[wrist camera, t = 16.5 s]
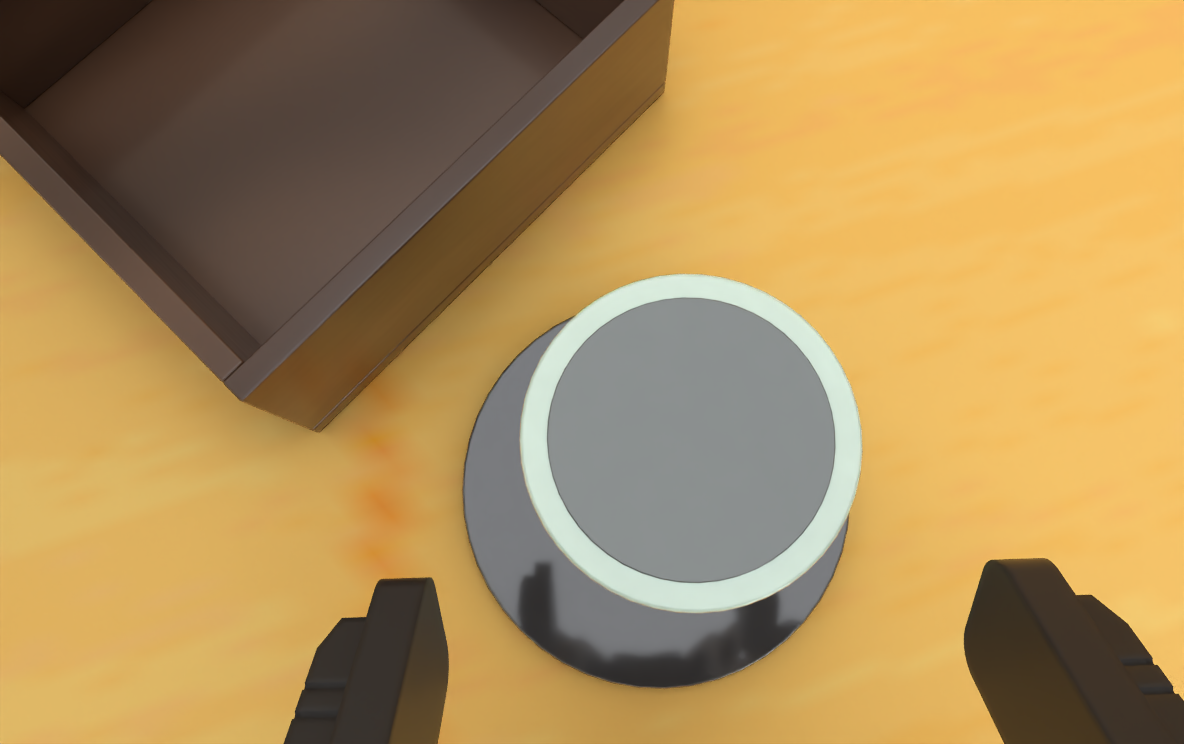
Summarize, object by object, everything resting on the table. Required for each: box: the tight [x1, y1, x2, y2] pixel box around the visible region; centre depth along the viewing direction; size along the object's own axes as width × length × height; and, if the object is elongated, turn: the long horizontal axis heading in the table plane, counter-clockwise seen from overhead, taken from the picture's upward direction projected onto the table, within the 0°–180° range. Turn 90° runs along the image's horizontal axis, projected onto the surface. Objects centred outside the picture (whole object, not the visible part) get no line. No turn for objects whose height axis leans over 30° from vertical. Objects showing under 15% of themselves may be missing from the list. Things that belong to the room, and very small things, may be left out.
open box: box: [0, 0, 674, 432], centre depth 24 cm, size 15×15×5 cm
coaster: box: [462, 315, 849, 689], centre depth 23 cm, size 11×11×1 cm
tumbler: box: [520, 274, 862, 613], centre depth 18 cm, size 6×6×10 cm
